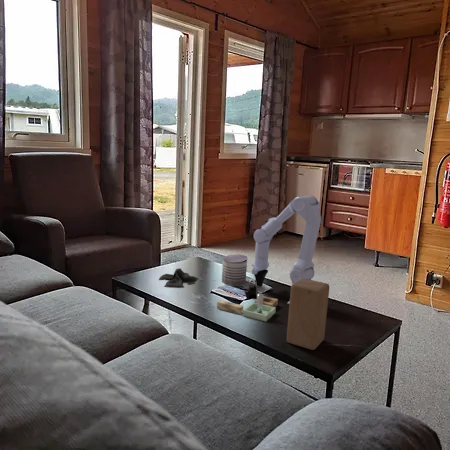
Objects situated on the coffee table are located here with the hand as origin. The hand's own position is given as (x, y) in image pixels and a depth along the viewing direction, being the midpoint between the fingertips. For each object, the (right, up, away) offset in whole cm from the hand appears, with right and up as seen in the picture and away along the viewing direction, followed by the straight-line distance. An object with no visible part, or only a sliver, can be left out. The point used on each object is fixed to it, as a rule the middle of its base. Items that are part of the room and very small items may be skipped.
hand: (259, 285), depth 184 cm
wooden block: (+11, -12, -46) cm, 49 cm away
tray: (-2, -7, -26) cm, 27 cm away
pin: (-2, -7, -26) cm, 27 cm away
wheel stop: (-13, -6, -24) cm, 28 cm away
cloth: (-35, +1, +8) cm, 36 cm away
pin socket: (+1, -5, -17) cm, 18 cm away
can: (-11, 0, +9) cm, 14 cm away
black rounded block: (-4, -4, -6) cm, 8 cm away
